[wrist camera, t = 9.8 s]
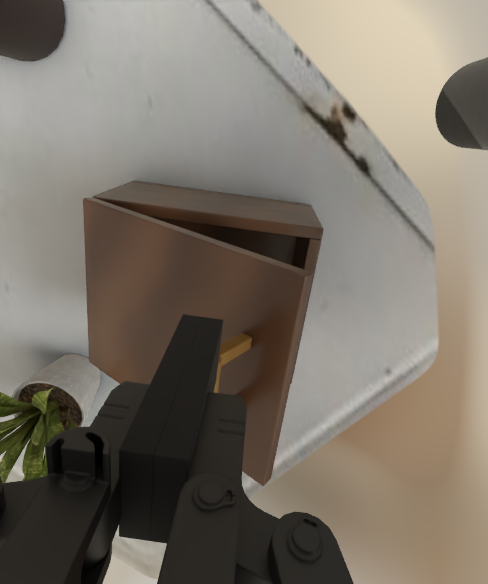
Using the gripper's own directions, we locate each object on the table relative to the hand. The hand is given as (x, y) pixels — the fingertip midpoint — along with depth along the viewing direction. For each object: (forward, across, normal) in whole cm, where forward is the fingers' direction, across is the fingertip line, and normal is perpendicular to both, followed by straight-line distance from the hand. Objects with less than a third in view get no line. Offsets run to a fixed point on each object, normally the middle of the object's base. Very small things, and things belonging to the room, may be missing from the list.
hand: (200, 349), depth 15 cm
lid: (+8, -3, -4) cm, 10 cm away
